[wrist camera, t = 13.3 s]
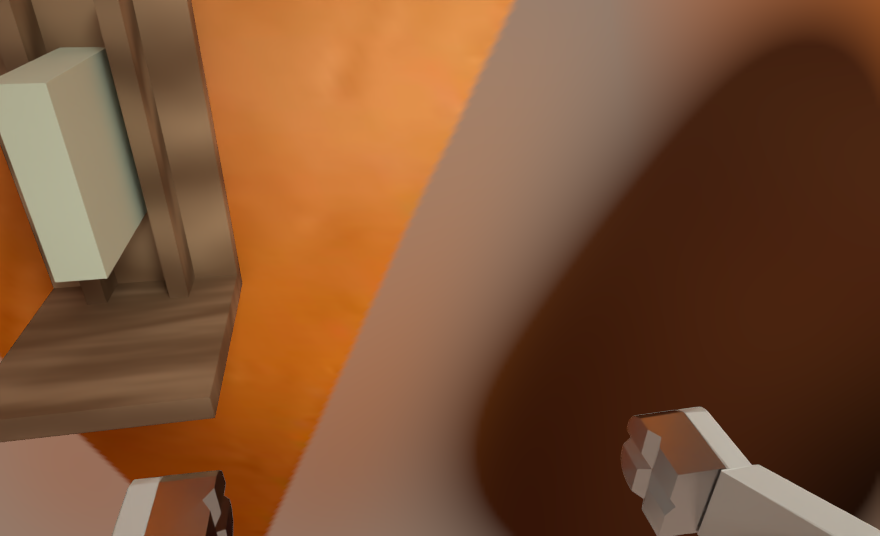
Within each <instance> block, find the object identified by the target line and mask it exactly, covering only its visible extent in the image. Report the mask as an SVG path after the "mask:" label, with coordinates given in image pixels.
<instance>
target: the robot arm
mask: <svg viewBox="0 0 880 536" xmlns="http://www.w3.org/2000/svg"><path fill="white" fill-rule="evenodd" d="M627 431H628V432H629V434H630V436H631V437H630V439H628V440H627V442H626V443H625V444H624V445H623V448H622V454H621V463H622V470H623V473H624V476H625V479H626V481H627V483H628V485H629V487H630V489H631V491H633V492H634V493H636V494H637V495H639V496H641V497H642V498H643V499H644V501H643V506H642V510H643V512H644V513H645V515H646V517H647V519H648V521H649V522H650V524H651V526H652V527H653V529H654V531H655V533H656V535H657V536H674V535H681V534H689V533H696V532H698V535H699V536H880V530H878V529H876V528H875V527H873V526H871V525H869V524H867V523H865V522H863V521H862V520H860V519H858V518H856V517H854V516H852V515H851V514H849V513H847V512H845V511H843V510H841V509H840V508H838V507H836V506H834V505H832V504H830V503H828V502H826V501H825V500H823V499H821V498H819V497H817V496H816V495H814V494H812V493H810V492H808V491H806V490H804V489H803V488H800V487H799V486H797V485H795V484H793V483H791V482H790V481H788V480H786V479H784V478H782V477H780V476H779V475H777V474H775V473H773V472H771V471H770V470H768V469H766V468H764V467H762V466H760V465H751V464H750V462H749V461H748V460H747V459H746V458H745V456H744V455H743V454H742V453H741V451H740V450H739V449H738V448H737V447H736V445H735V444H734V443H733V442H732V441H731V439H730V438H729V437H728V436H727V434H726V433H725V432H724V431H723V429H721V427H720V426H719V425H718V423H717V422H716V421H715V420H714V419H713V418H712V416H711V415H710V414H709V412H708V411H707V410H705V409H704V408H702V407H694V408H687V409H679V410H670V411H663V412H656V413H650V414H642V415H636V416H633V417H632V418H631V419H630V420H629V423H628V427H627ZM225 484H226V482H225V479H224V476H223V472H222V471H220V470H216V471H206V472H197V473H187V474H178V475H168V476H163V477H153V478H144V479H135V480H133V482H132V483H131V484H130V486H129V487H128V489H127V492H126V495H125V498H124V501H123V504H122V507H121V510H120V512H119V516H118V518H117V522H116V524H115V527H114V530H113V533H112V536H233V514H232V507H231V503H230V499H228V498H227V497H225V496H224V491H225Z"/></svg>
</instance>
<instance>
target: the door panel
mask: <svg viewBox="0 0 880 536" xmlns="http://www.w3.org/2000/svg"><path fill="white" fill-rule="evenodd" d="M0 134H1V137H2V139H3V142H4V145H5V148H6V150H7V153H8V156H9V158H10V161H11V164H12V167H13V169H14V172H15V175H16V177H17V180H18V183H19V185H20V188H21V191H22V194H23V196H24V199H25V202H26V204H27V207H28V210H29V213H30V215H31V218H32V221H33V223H34V226H35V229H36V232H37V234H38V237H39V240H40V242H41V245H42V248H43V250H44V253H45V256H46V259H47V261H48V264H49V267H50V269H51V272H52V275H53V278H54V280H55V282H67V281H80V280H94V279H107V278H108V277H109V275H110V273H111V272H112V270H113V268H114V266H115V265H116V263H117V261H118V260H119V258H120V256H121V255H122V253H123V251H124V249H125V248H126V246H127V244H128V243H129V241H130V239H131V238H132V236H133V234H134V232H135V231H136V229H137V227H138V226H139V224H140V222H141V221H142V219H143V217H144V215H145V214H146V212H147V208H146V204H145V200H144V196H143V192H142V188H141V184H140V180H139V177H138V173H137V169H136V165H135V161H134V157H133V153H132V149H131V145H130V142H129V138H128V134H127V130H126V126H125V122H124V118H123V114H122V111H121V107H120V103H119V99H118V95H117V91H116V87H115V83H114V80H113V76H112V72H111V68H110V64H109V60H108V56H107V52H106V48H105V47H63V48H58V49H56V50H54V51H51V52H49V53H47V54H45V55H43V56H41V57H39V58H37V59H35V60H33V61H31V62H28V63H26V64H24V65H22V66H20V67H18V68H16V69H14V70H12V71H10V72H8V73H5V74H3V75H1V76H0Z"/></svg>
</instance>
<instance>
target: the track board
mask: <svg viewBox="0 0 880 536" xmlns="http://www.w3.org/2000/svg"><path fill="white" fill-rule="evenodd" d="M63 47H105V48H106V52H107V56H108V60H109V64H110V68H111V72H112V76H113V80H114V83H115V87H116V91H117V95H118V99H119V103H120V107H121V111H122V114H123V118H124V122H125V126H126V130H127V134H128V138H129V142H130V145H131V149H132V153H133V157H134V161H135V165H136V169H137V173H138V177H139V180H140V184H141V188H142V192H143V196H144V200H145V204H146V208H147V212H146V214H145V215H144V217H143V219H142V221H141V222H140V224H139V226H138V227H137V229H136V231H135V232H134V234H133V236H132V238H131V239H130V241H129V243H128V244H127V246H126V248H125V249H124V251H123V253H122V255H121V256H120V258H119V260H118V261H117V263H116V265H115V266H114V268H113V270H112V272H111V273H110V275H109V277H108V278H107V279H94V280H80V281H67V282H55V280H54V278H53V275H52V272H51V269H50V267H49V264H48V261H47V259H46V256H45V253H44V250H43V248H42V245H41V242H40V240H39V237H38V234H37V232H36V229H35V226H34V223H33V221H32V218H31V215H30V213H29V210H28V207H27V204H26V202H25V199H24V196H23V194H22V191H21V188H20V185H19V183H18V180H17V177H16V175H15V172H14V169H13V167H12V164H11V161H10V158H9V156H8V153H7V150H6V148H5V145H4V142H3V139H2V137H1V134H0V145H1V148H2V150H3V153H4V156H5V158H6V161H7V164H8V166H9V169H10V172H11V175H12V177H13V180H14V183H15V185H16V188H17V191H18V193H19V196H20V199H21V201H22V204H23V207H24V209H25V212H26V215H27V217H28V220H29V223H30V225H31V228H32V231H33V234H34V236H35V239H36V242H37V244H38V247H39V250H40V252H41V255H42V258H43V260H44V263H45V266H46V268H47V271H48V274H49V276H50V279H51V282H52V284H53V287H54V289H53V290H52V292H51V293H50V295H49V296H48V297H47V299H46V300H45V301H44V303H43V304H42V306H41V307H40V308H39V310H38V311H37V313H36V314H35V315H34V317H33V318H32V320H31V321H30V322H29V324H28V325H27V327H26V328H25V329H24V331H23V332H22V333H21V335H20V336H19V338H18V339H17V340H16V342H15V343H14V345H13V346H12V347H11V349H10V350H9V352H8V353H7V354H6V356H5V357H4V358H3V360H2V361H1V363H0V442H7V441H16V440H25V439H33V438H42V437H51V436H60V435H69V434H77V433H86V432H95V431H104V430H113V429H121V428H130V427H139V426H148V425H156V424H165V423H174V422H183V421H191V420H200V419H209V418H215V415H216V410H217V405H218V400H219V395H220V390H221V385H222V381H223V376H224V371H225V366H226V361H227V356H228V351H229V346H230V341H231V336H232V331H233V327H234V322H235V317H236V312H237V307H238V302H239V297H240V292H241V287H242V279H241V274H240V268H239V263H238V257H237V252H236V246H235V241H234V235H233V230H232V224H231V219H230V213H229V207H228V202H227V196H226V191H225V185H224V180H223V174H222V169H221V163H220V158H219V152H218V147H217V141H216V136H215V130H214V124H213V119H212V113H211V108H210V102H209V97H208V91H207V86H206V80H205V75H204V69H203V64H202V58H201V53H200V47H199V41H198V36H197V30H196V25H195V19H194V14H193V8H192V3H191V0H0V76H1V75H3V74H5V73H8V72H10V71H12V70H14V69H16V68H18V67H20V66H22V65H24V64H26V63H28V62H31V61H33V60H35V59H37V58H39V57H41V56H43V55H45V54H47V53H49V52H51V51H54V50H56V49H58V48H63Z"/></svg>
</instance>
